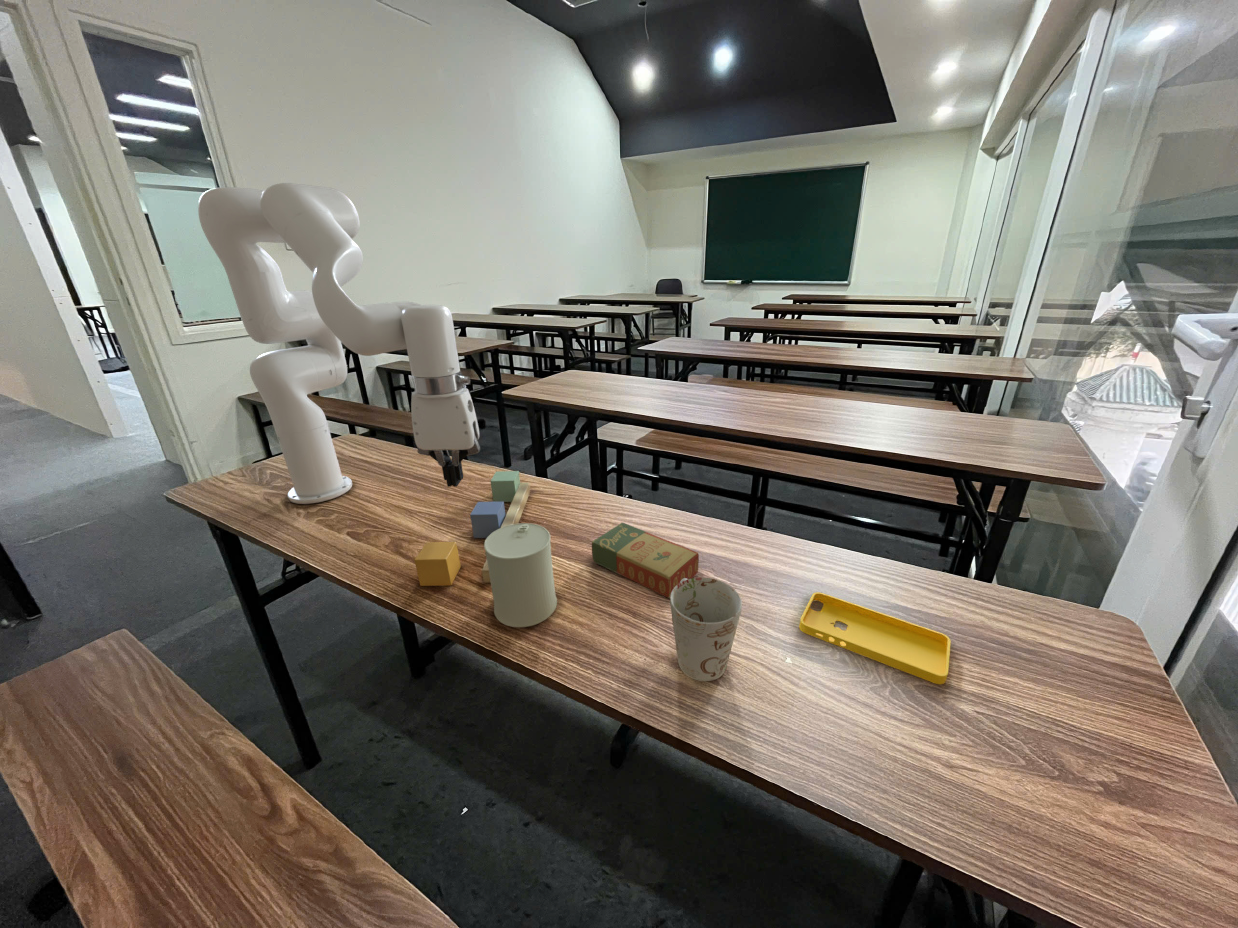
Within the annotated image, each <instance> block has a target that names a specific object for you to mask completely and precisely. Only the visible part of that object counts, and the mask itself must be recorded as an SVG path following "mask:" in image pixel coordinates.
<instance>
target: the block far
mask: <svg viewBox="0 0 1238 928" xmlns="http://www.w3.org/2000/svg"><path fill="white" fill-rule="evenodd" d="M520 483H521V478H520V471H519V470H506V471H505V470H504V471H503V470H501V471H500V470H499V471H495V473H494V474H493V475H492V478H491V479H490V489H491V494H492V502H504V503H512V500H513V498H514V496H515V494H516V491H517V489H518V487H519V484H520Z"/></svg>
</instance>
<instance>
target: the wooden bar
mask: <svg viewBox="0 0 1238 928" xmlns="http://www.w3.org/2000/svg"><path fill="white" fill-rule="evenodd" d="M530 494H531V485H530V482H520V484H519V487H518V489H517V491H516V494H515V496H514V498H513V500H512V502H510V505H509V507H508V510H507V512H506V513H505V515H506V516H505V519H504V521H503V523H502V526H501V528H502V527H505V526H508V525H512V524H519V523H520V520H521V517H522V515H523V512H524V510H525V507H526V504H527V503H528V499H529V496H530ZM481 575H482V581H483V584H488V583H489V584H491V581H490V575H489V569H488V563H487V559H485V562H484V564H483V567H482V569H481Z"/></svg>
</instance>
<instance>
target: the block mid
mask: <svg viewBox="0 0 1238 928" xmlns="http://www.w3.org/2000/svg"><path fill="white" fill-rule="evenodd" d="M505 516H506V508H505V502H493V501H477V503H476V504H475V506H474V507H473V509H472V511H471V513H470V514H469V517H470V523H471V528H472V535H473V539H486V538H487V537H488V536H489V535H490V534H491V533H493V532H494V531H496V530H498V529H500V528H501V526H502V523H503V521H504V519H505Z"/></svg>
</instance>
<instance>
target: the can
mask: <svg viewBox="0 0 1238 928" xmlns="http://www.w3.org/2000/svg"><path fill="white" fill-rule="evenodd" d="M551 538H552V537H551V533H550V532H549V530H548V529H547V528H545V527H544V526H543V525H539V524H536V523H531V522H530V523H528V522H519V523H518V524H512V525H508V526H505V527H502V528H500V529H498V530H496V531H494V532H493V533H491V534H490V535H489V536H488V537H487V538H485V540H484V542H483V548H484V549H483V550H484V553H485V557H486V560H487V563H488V569H489V575H490V581H491V583H490V587H491V593H492V599H493V614H494V617H495V618H496V619H497V621H498V622H500V623H501V624H503V625H505V626H507V627H511V628H527V627H533V626H536V625H538V624H540V623H542V622H544V621H546V620H547V619H549V618H550V617H551V616H552V615H553V613H554V612H555V611H556V608H557V605H558V597H557V595H556V587H555V580H554V579H555V578H554V569H553V557H552V547H551Z"/></svg>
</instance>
